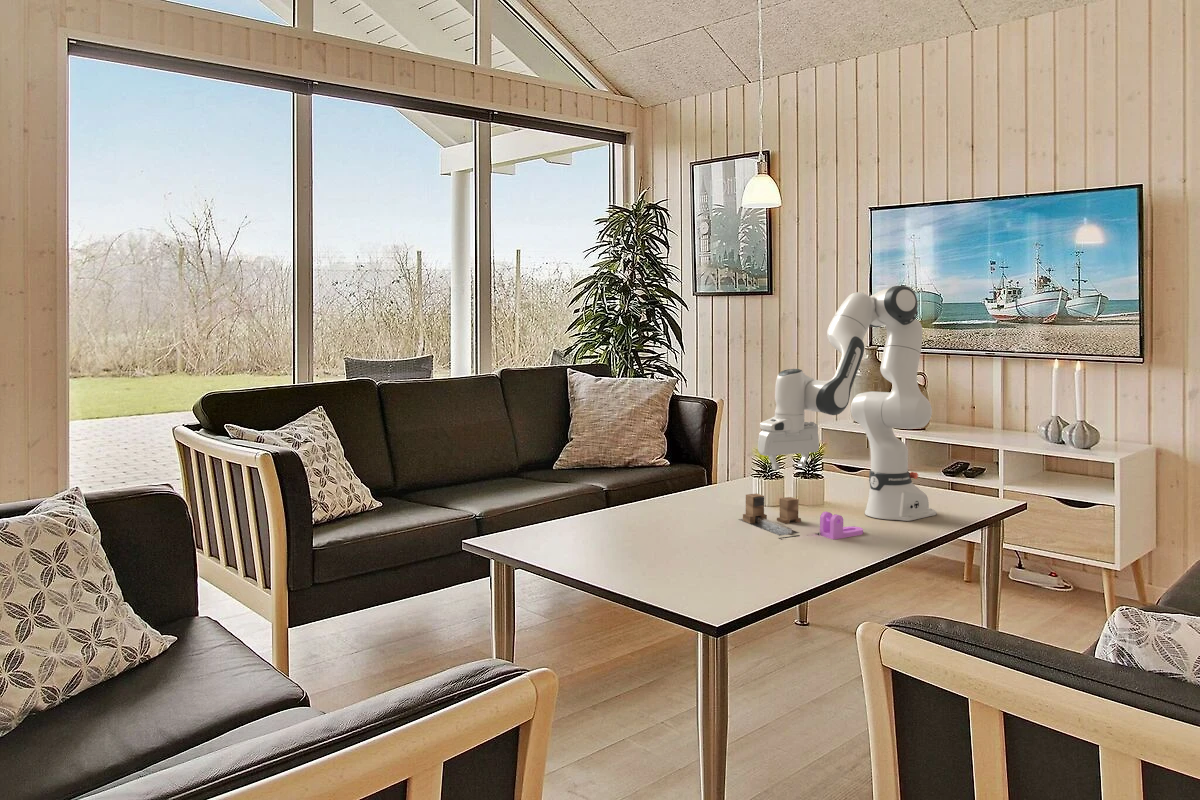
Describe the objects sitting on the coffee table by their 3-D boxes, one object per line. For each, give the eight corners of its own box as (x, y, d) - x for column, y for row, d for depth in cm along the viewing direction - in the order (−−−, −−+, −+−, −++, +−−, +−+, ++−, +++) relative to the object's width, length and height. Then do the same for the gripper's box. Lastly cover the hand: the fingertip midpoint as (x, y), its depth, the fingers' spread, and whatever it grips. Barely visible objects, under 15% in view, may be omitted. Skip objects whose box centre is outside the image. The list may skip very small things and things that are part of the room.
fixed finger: (759, 518, 275) (759, 493, 275) (768, 521, 271) (768, 495, 270) (742, 520, 273) (742, 494, 272) (751, 523, 269) (751, 497, 268)
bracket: (833, 540, 253) (833, 516, 253) (819, 535, 258) (820, 512, 257) (867, 534, 259) (867, 510, 259) (853, 530, 264) (853, 507, 264)
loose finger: (791, 521, 275) (791, 496, 274) (800, 524, 271) (801, 499, 270) (775, 523, 273) (775, 497, 272) (784, 527, 268) (784, 500, 268)
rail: (757, 520, 277) (757, 512, 277) (799, 536, 257) (799, 527, 257) (737, 522, 275) (737, 514, 274) (779, 538, 255) (779, 530, 254)
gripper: (811, 420, 275) (810, 464, 277) (755, 423, 267) (754, 469, 269) (824, 422, 270) (823, 467, 271) (767, 425, 261) (766, 472, 263)
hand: (788, 468), depth 270 cm, fingers open, 8 cm apart
